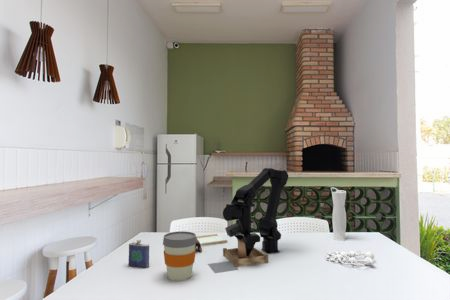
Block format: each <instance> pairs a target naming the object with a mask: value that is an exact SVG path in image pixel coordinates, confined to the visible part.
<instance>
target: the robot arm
mask: <svg viewBox="0 0 450 300" xmlns="http://www.w3.org/2000/svg"><path fill="white" fill-rule="evenodd" d="M288 180H289V173H288V172H287V170H285V169H275V168H272V167H270V168H269V167H264V168H263V169H262V171H261V172H259V173H258V174H257V176H255V177H254V178H253V179H252V180H251V181H250V182H249V183H248V184H246V185H242V186H241V187H239V188H238V189H237V190H236V192H235V194H234V196H233V199H232V200H231V202H230V203H226V204H225V207H224V208H223V211H222V217H223V219H224V220H225V221H226V222H229V221H235V223H233V224H230V225H228V226H227V227H225V228H224V229H225V232H226V234H227V236H228V237H230V238H232V237H235V238H236V240H237V241H238V240H239V239H242V238H243V239H244V240H242V242H243V243H244V244H245V249H246V255H247V256H249V255H250V253H251V251H252V249H253V247H254V248H255V245H256V243H260V242H261V238H262V242H261V243H262V244H261V246H262V248H261V251H263V252H264V253H265V254H268V255H269V254H275V253H280V250H279V240H281V237H282V234H281V232H280V231H279V230H278V225H279V224H278V222H277V219H276V218H277V213H278V208H279V204H280V200H281V199H280V198H281V195H282V190H283V189H284V187H285V186H286V185H287V182H288ZM268 181H269V182H270V184H271V188H270V194H269V197H268V201H267V206H266V210H265V215H264V216H263V217H260V218H259V222H258V225H257V227H258V233H259V234H258V233H256V232H254V230H253V229H252V224H253V223H254V219H252V207H255V204H254V203H253V201H254V199H255V197H256V195H257V192H258V190H260V189H261V187H263V186H264V185H265V184H266V183H267V182H268Z"/></svg>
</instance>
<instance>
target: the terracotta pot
mask: <svg viewBox="0 0 450 300" xmlns="http://www.w3.org/2000/svg"><path fill="white" fill-rule="evenodd" d="M242 240H244V239H243V238H242V239H239V240H237V248H238V258H241V259H243V258H251V257H252V251H251V253H250V255H249V256H247V255H246V249H245V244H244V243H243V242H242Z"/></svg>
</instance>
